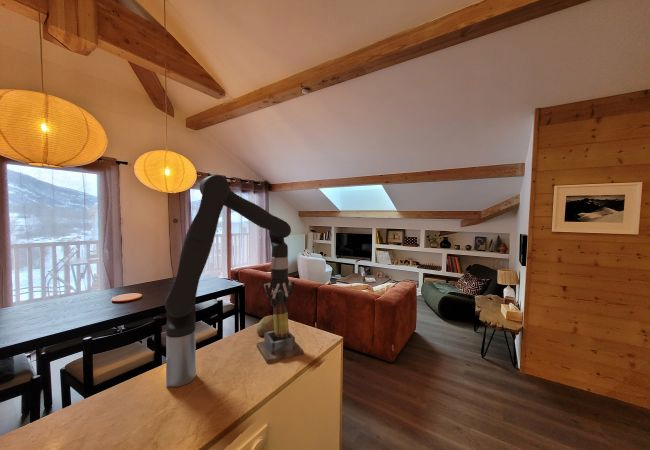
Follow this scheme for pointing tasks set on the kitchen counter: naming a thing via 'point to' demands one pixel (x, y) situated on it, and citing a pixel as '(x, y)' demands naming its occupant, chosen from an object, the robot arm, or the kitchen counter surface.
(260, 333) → the bread roll
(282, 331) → the sauce bottle
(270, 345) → the grey open box
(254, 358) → the kitchen counter surface
